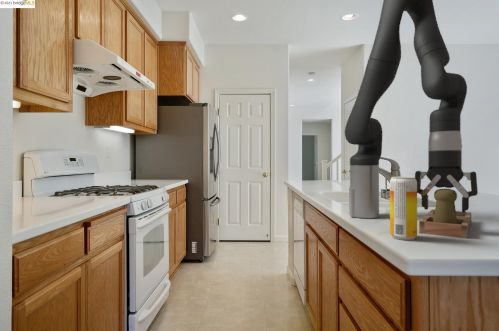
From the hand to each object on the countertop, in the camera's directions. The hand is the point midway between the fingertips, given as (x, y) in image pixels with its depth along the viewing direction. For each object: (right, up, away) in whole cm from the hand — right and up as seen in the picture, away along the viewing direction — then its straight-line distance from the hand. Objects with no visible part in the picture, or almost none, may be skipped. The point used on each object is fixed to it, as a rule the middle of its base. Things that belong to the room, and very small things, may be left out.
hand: (444, 210), depth 86 cm
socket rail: (+4, -5, +5) cm, 9 cm away
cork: (0, -6, 0) cm, 6 cm away
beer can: (-14, -6, -6) cm, 16 cm away
